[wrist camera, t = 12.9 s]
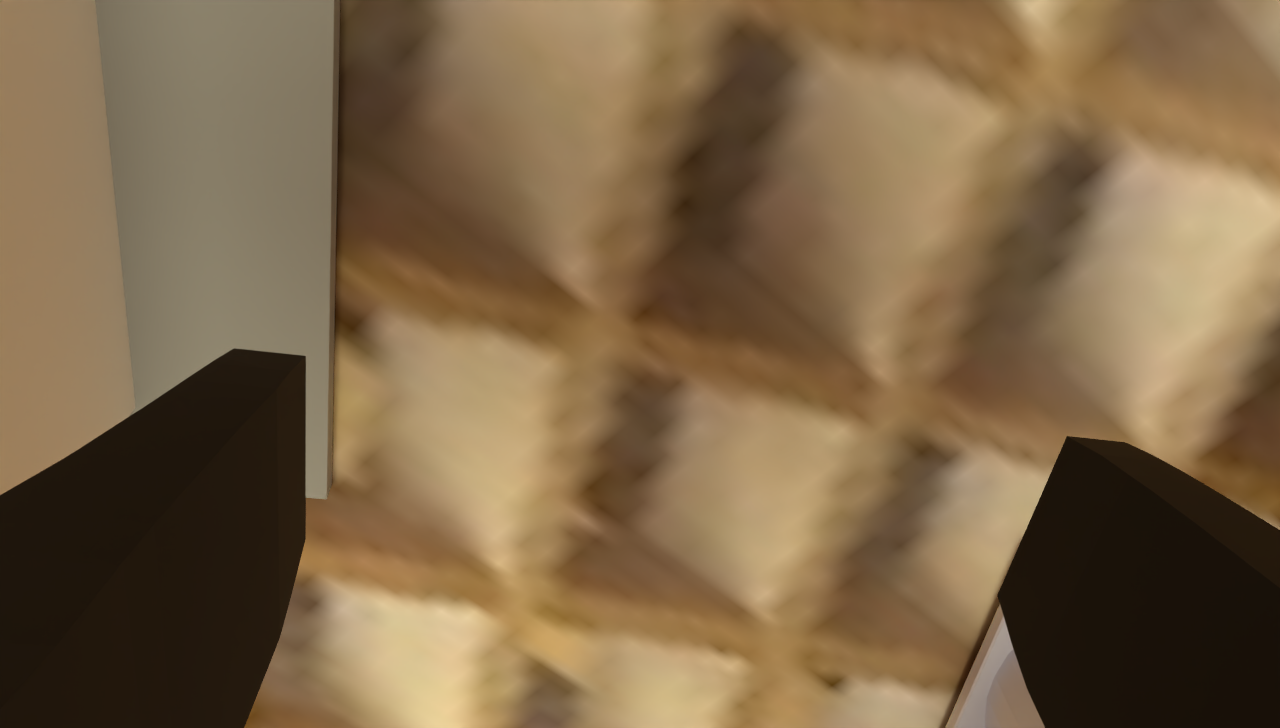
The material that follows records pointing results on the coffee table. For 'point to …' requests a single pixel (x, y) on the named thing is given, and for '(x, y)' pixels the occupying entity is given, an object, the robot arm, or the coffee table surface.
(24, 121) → the off-white block
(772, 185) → the coffee table surface
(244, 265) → the grey mat
